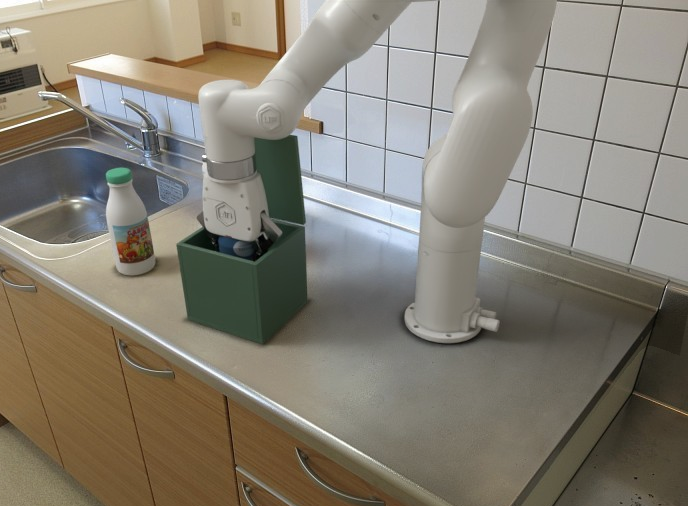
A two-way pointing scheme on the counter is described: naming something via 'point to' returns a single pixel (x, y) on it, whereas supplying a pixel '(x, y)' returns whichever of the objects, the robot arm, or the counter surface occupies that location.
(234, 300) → the bread box
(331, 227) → the counter surface
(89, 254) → the counter surface
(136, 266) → the milk bottle
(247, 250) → the soda can
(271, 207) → the bread box lid
